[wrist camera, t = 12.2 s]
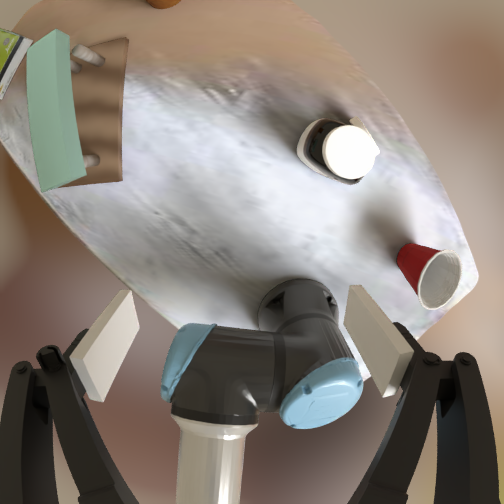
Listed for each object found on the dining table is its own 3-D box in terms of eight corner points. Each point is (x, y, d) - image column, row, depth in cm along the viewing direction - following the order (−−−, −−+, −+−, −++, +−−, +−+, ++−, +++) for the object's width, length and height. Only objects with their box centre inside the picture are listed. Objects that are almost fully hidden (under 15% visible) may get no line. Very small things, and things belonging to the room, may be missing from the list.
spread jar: (286, 156, 42) (302, 157, 31) (318, 98, 38) (343, 82, 28) (348, 192, 44) (379, 205, 33) (377, 137, 41) (414, 135, 30)
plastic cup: (436, 252, 48) (471, 275, 37) (404, 290, 51) (434, 320, 40) (412, 218, 46) (450, 237, 34) (376, 259, 48) (407, 288, 37)
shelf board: (86, 174, 32) (71, 178, 28) (57, 187, 32) (41, 192, 29) (69, 35, 24) (56, 28, 20) (41, 53, 24) (27, 48, 20)
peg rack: (122, 180, 42) (95, 188, 33) (60, 186, 41) (29, 196, 32) (128, 40, 33) (106, 20, 24) (65, 58, 32) (37, 47, 23)
